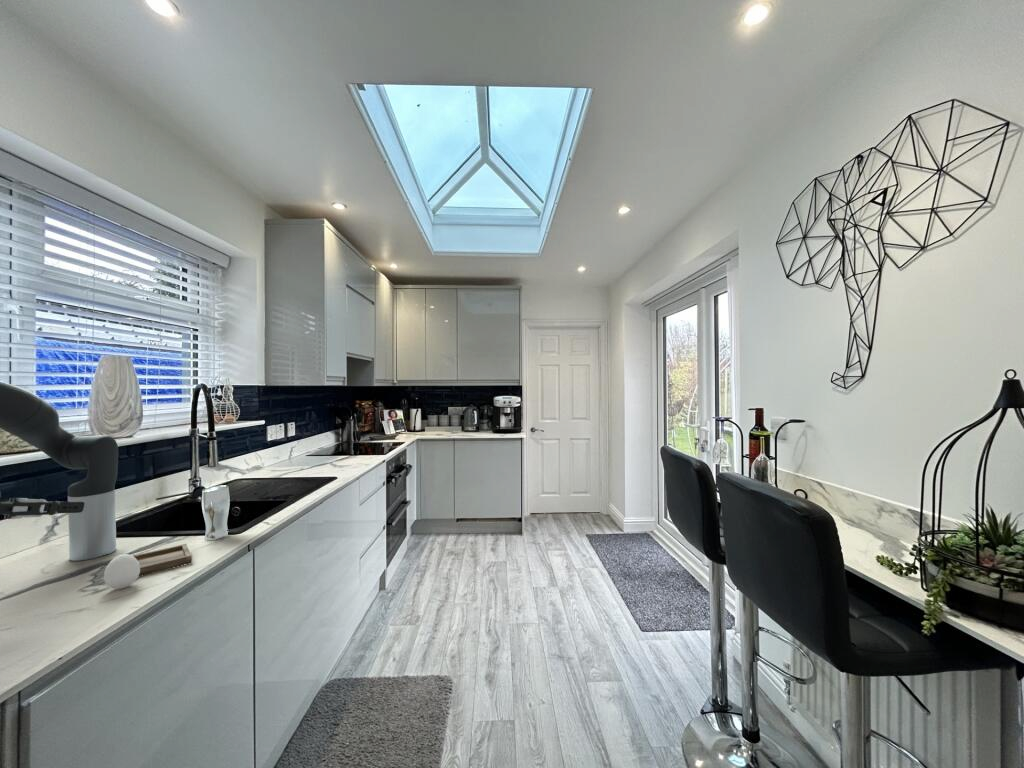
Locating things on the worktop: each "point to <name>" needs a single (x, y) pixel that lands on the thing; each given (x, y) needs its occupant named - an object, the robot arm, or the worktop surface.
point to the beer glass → (215, 511)
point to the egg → (122, 571)
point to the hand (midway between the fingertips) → (75, 506)
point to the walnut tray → (163, 559)
